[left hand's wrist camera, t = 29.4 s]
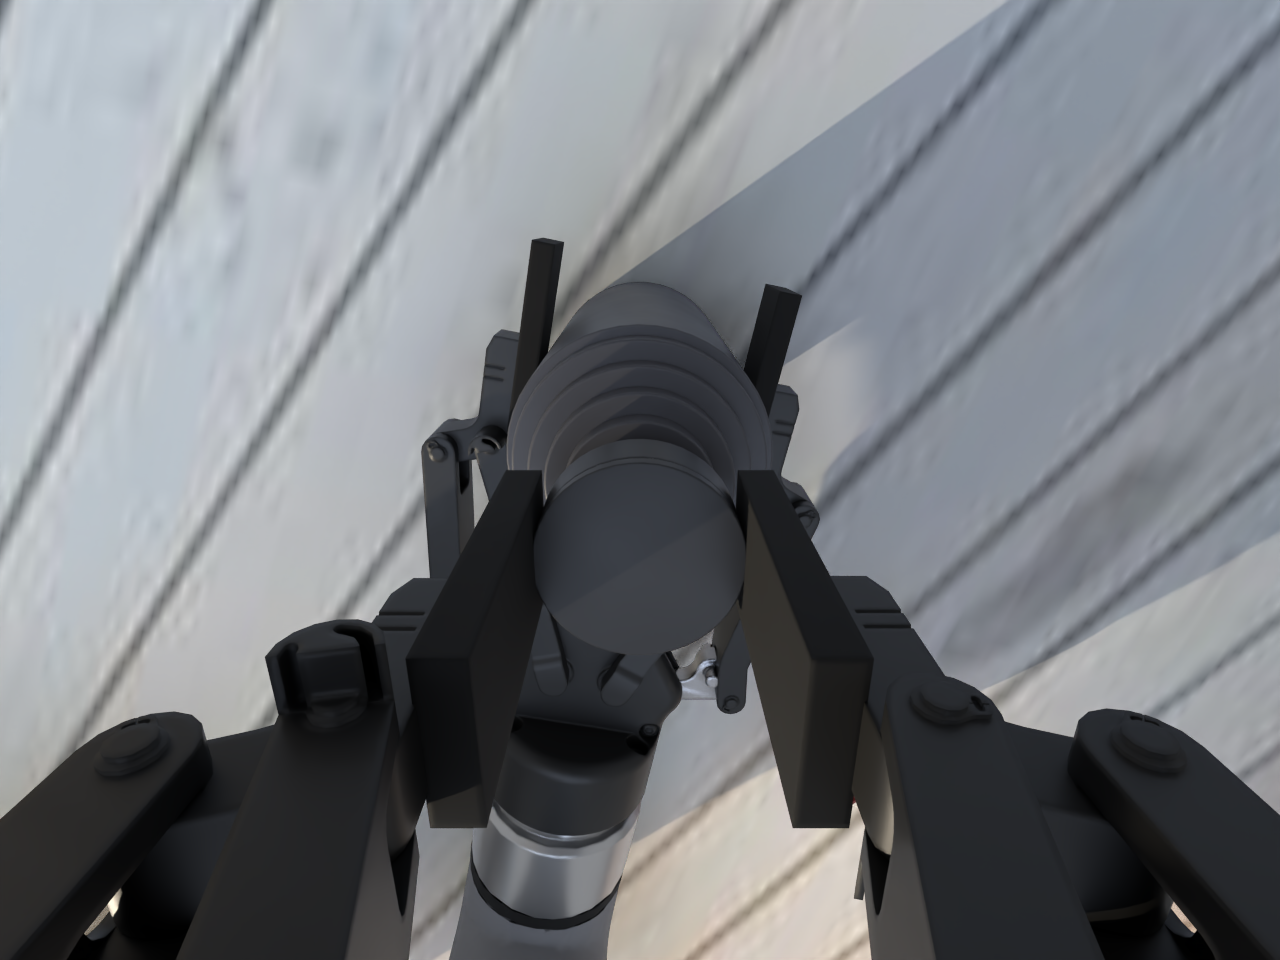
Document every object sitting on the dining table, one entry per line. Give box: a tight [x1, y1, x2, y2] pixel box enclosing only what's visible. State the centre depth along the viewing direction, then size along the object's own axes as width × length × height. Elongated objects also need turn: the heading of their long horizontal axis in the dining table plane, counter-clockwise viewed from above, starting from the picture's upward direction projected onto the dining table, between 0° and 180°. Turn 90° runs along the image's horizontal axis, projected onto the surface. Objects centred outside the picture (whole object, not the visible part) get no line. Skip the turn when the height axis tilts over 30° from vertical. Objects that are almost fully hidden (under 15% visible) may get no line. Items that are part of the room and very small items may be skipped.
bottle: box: [507, 282, 773, 508], centre depth 22 cm, size 7×7×18 cm
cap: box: [533, 439, 746, 655], centre depth 14 cm, size 4×4×2 cm
